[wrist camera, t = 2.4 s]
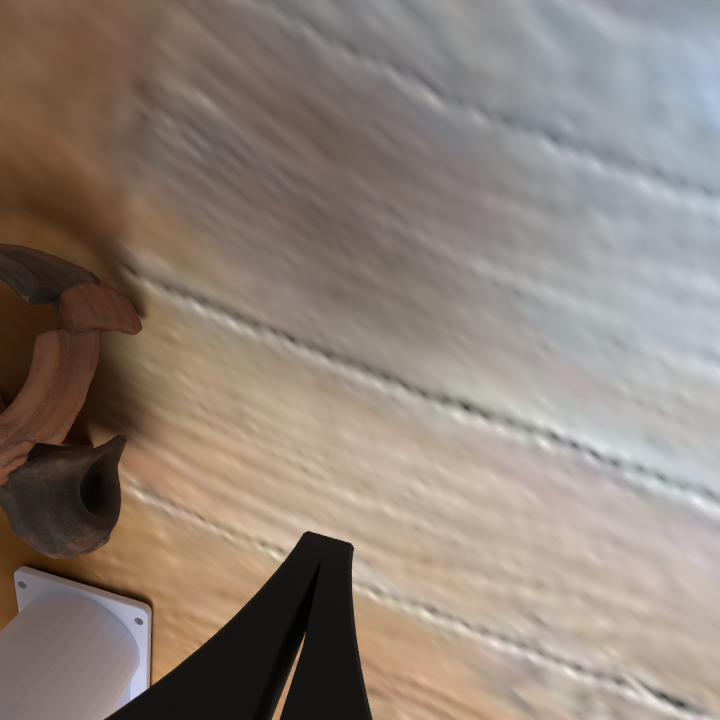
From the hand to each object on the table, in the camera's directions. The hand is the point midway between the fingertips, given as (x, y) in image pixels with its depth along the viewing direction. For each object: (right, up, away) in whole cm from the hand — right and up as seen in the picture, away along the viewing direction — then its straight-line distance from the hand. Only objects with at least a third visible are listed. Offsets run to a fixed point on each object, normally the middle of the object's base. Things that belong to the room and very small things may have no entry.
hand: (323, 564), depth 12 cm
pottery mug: (-11, +5, +8) cm, 15 cm away
